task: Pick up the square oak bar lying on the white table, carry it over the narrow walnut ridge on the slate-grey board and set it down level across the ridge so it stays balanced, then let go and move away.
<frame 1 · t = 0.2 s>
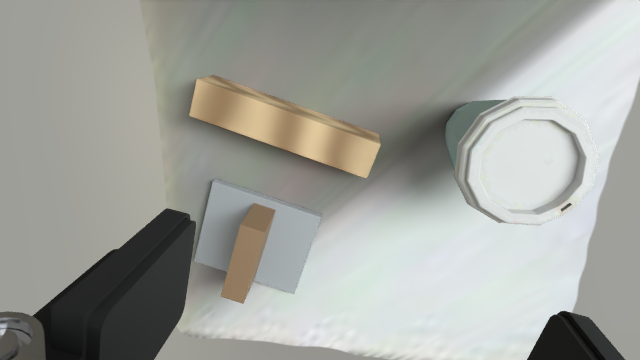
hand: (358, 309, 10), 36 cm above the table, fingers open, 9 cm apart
oak bar: (291, 120, 46), on the table
disposable coffee cup: (476, 127, 44), on the table
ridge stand: (257, 236, 51), on the table
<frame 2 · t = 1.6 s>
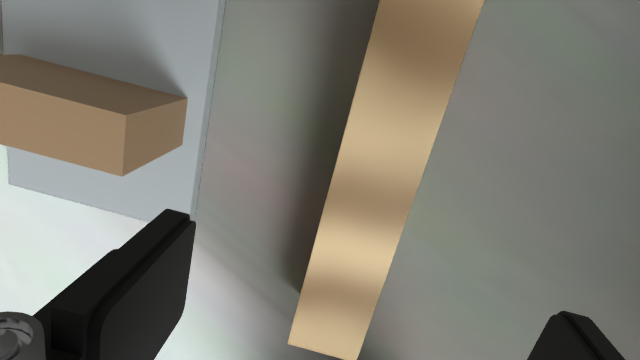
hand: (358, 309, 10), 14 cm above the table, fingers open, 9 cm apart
oak bar: (369, 164, 23), on the table
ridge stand: (112, 98, 24), on the table
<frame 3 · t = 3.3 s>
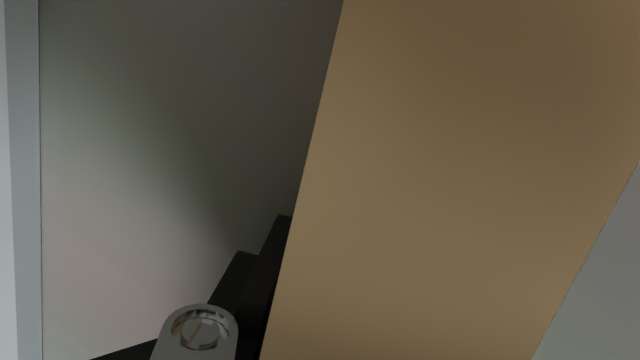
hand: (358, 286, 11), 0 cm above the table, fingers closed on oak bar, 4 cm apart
oak bar: (358, 277, 11), on the table, touching gripper
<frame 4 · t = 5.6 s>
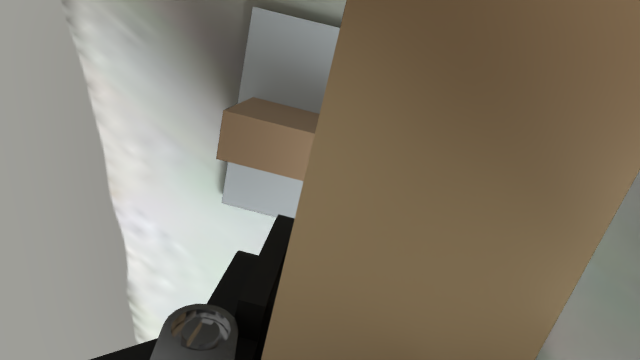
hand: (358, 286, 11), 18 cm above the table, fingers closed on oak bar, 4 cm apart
oak bar: (359, 277, 11), point 18 cm above the table, touching gripper
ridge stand: (320, 131, 28), on the table
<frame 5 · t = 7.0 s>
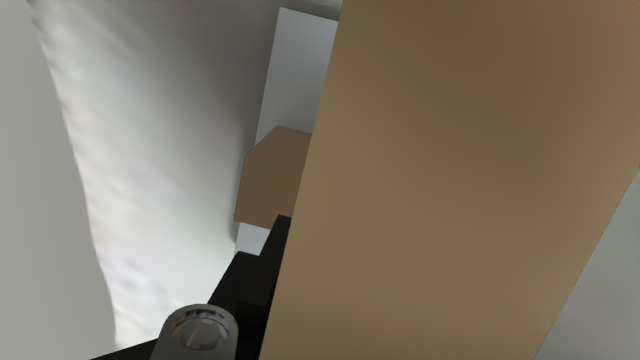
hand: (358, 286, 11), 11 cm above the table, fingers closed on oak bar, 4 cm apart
oak bar: (358, 277, 11), point 11 cm above the table, touching gripper
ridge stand: (362, 168, 22), on the table
when the fingers open (8 cm above the table, at t = 8.0 s): oak bar stays where it is, resting on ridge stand.
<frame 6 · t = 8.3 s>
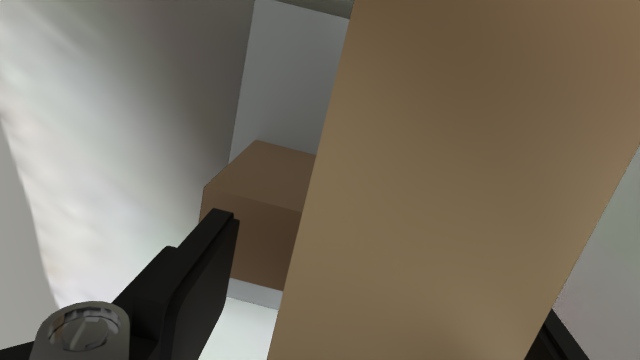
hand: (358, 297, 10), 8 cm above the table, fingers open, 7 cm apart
oak bar: (362, 272, 12), point 7 cm above the table, touching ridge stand
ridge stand: (358, 189, 18), on the table
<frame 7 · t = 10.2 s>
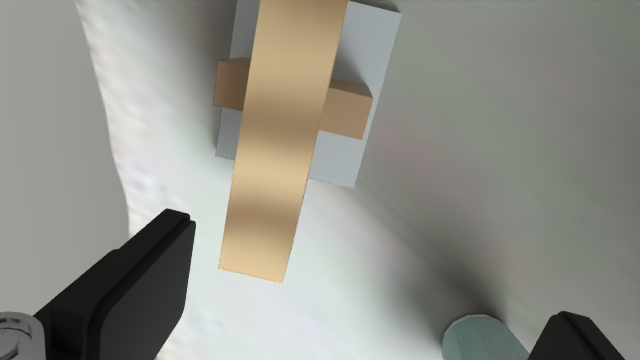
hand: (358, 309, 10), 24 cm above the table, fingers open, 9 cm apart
oak bar: (293, 102, 25), point 7 cm above the table, touching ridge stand
disposable coffee cup: (476, 338, 39), on the table
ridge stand: (303, 88, 32), on the table
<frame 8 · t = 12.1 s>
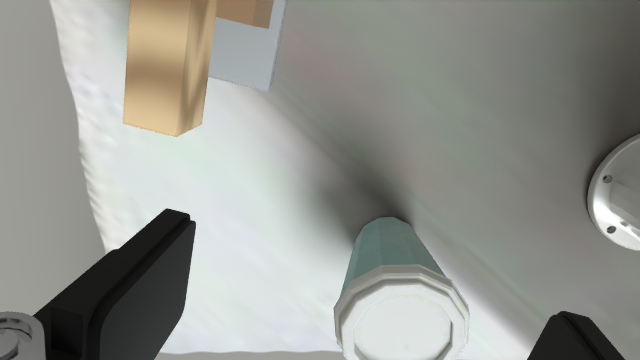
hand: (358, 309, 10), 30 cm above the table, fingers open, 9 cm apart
disposable coffee cup: (388, 242, 43), on the table
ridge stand: (221, 0, 36), on the table
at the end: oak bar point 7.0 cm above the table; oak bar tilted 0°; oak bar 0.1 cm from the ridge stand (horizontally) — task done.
